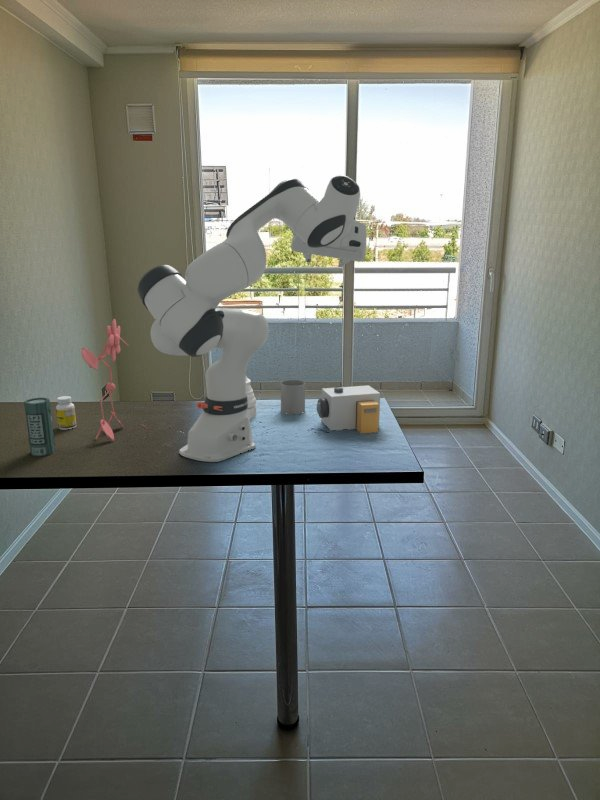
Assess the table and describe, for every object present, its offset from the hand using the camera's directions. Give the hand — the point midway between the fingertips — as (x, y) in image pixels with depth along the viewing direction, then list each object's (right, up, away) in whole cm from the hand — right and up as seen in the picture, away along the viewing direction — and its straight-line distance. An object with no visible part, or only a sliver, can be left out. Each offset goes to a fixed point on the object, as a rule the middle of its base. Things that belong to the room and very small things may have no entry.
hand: (324, 262), depth 166 cm
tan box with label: (+14, -48, +18) cm, 53 cm away
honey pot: (-28, -44, +34) cm, 62 cm away
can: (-78, -53, 0) cm, 95 cm away
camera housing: (+8, -46, +24) cm, 53 cm away
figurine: (-61, -49, +14) cm, 79 cm away
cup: (-9, -42, +38) cm, 57 cm away
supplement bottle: (-80, -47, +20) cm, 95 cm away
